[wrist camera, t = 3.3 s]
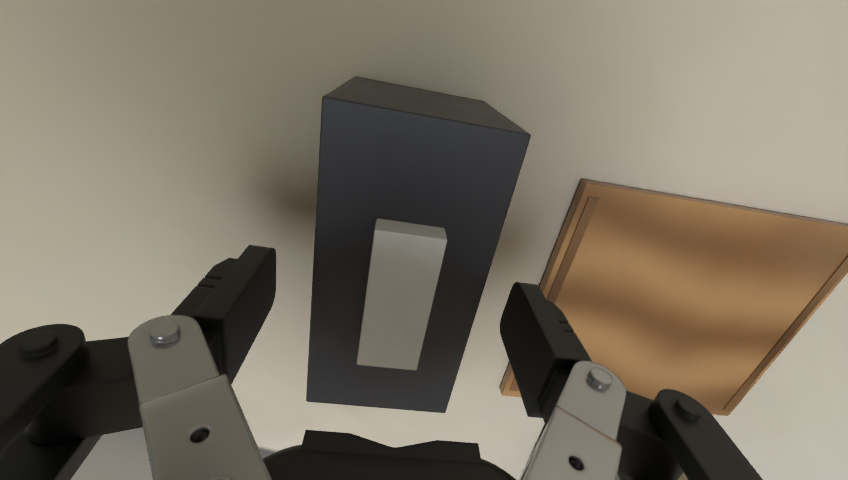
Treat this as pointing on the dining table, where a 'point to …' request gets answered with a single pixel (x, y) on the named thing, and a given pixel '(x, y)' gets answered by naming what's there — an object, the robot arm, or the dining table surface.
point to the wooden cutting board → (687, 288)
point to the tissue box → (403, 239)
